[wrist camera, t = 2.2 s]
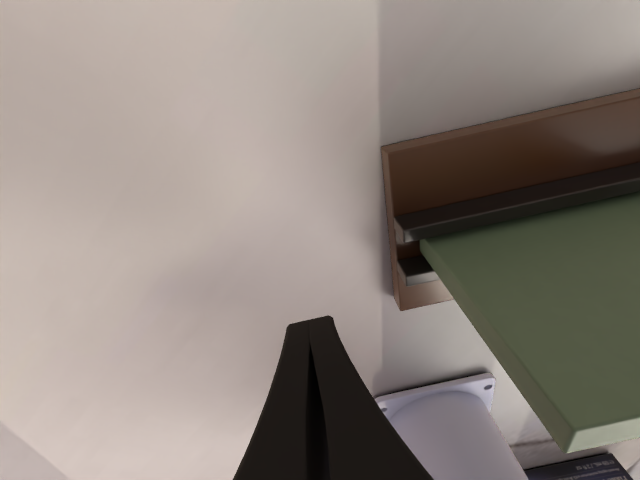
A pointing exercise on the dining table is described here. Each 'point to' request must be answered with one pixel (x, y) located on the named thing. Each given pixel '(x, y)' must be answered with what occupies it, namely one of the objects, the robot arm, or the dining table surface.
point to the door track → (503, 178)
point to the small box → (582, 470)
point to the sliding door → (558, 311)
